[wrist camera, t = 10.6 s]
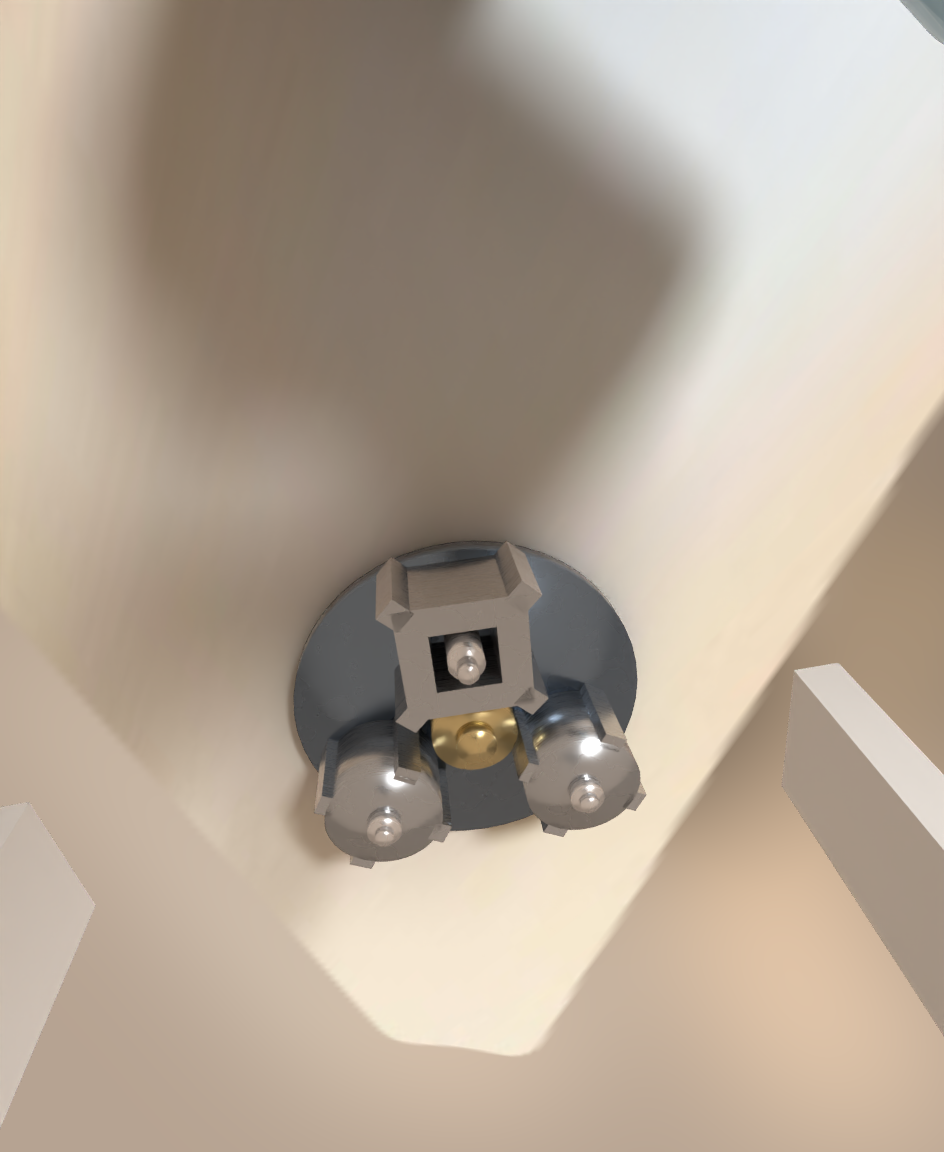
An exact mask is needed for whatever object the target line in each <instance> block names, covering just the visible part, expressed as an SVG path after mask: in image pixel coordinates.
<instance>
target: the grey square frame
mask: <svg viewBox="0 0 944 1152" xmlns="http://www.w3.org/2000/svg"><path fill="white" fill-rule="evenodd" d="M541 596H542V593H541V591H540V588H539V586H538V584H537V581H536V579H535V577H534V574H533V572H532V569H531V567H530V565H529V562H528V560H527V558H526V555H525V553H523V552H522V551H520V550H519V549H518V548H516V547H515V546H513V545H512V544H511V543H509V542H508V541H506V542H505V543H504V544H503V545H502V546H501V547H500V549H499V550H498V551H497V552H496V553H495V554H494V555H490V556H483V557H476V558H469V559H462V560H455V561H448V562H441V563H434V564H427V565H420V566H413V567H406V566H404V565H403V564H401V563H400V562H398V561H397V560H395V559H394V558H392V557H390V559H389V560H388V561H387V562H386V564H385V565H384V566H383V567H382V569H381V570H380V571H379V572H378V574H377V575H376V616H375V620H377V621H379V622H380V623H382V624H384V625H385V626H387V627H389V628H390V629H392V630H393V631H394V636H395V642H396V647H397V653H398V658H399V665H398V666H397V667H396V668H395V669H394V677H395V722H397V723H399V724H401V725H402V726H404V727H406V728H408V729H410V730H411V731H413V732H415V733H416V732H417V731H418V730H419V729H420V728H421V727H422V726H423V725H424V724H425V722H426V721H427V720H429V719H435V718H442V717H448V716H455V715H461V714H468V713H474V712H481V711H487V710H494V709H500V708H507V707H513V706H519V707H520V708H522V709H524V710H525V711H527V712H529V713H530V714H532V715H533V714H534V713H535V712H536V711H537V710H538V709H539V708H540V707H541V706H542V705H543V704H544V703H545V702H546V701H547V700H548V698H549V697H548V694H547V691H546V688H545V685H544V682H543V679H542V677H541V674H540V671H539V668H538V665H537V662H536V659H535V656H534V653H533V650H532V649H531V642H530V628H529V615H528V610H529V609H530V608H531V607H532V606H533V605H534V604H535V603H536V601H537V600H538V599H539V598H540V597H541ZM487 628H489V629H490V635H484V636H480V639H481V643H482V647H483V652H484V656H485V661H486V666H485V669H484V671H483V673H482V674H481V675H480V677H479V679H478V681H477V682H475V683H474V684H471V685H466V684H463V683H461V682H460V681H459V679H456V678H455V677H453V676H452V675H451V674H450V672H449V670H448V664H447V657H446V650H445V643H444V641H443V642H436V643H431V637H433V636H439V635H446V634H453V633H460V632H466V631H473V630H480V629H487Z"/></svg>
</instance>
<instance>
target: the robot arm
mask: <svg viewBox="0 0 944 1152" xmlns="http://www.w3.org/2000/svg"><path fill="white" fill-rule="evenodd" d="M900 1H901V2H902V3H903V4H904V6H905V7H906V8H907V9H908V10H909V11H910V12H911V13H912V14H913V16H914V17H915V18H916V19H917V20H918V21H919V22H920V23H921V25H922V26H923V27H924V28H925V29H926V30H927V31H928V32H929V33H930V34H931V35H932V36H933V37H934V38H935V39H936V40H938V41H939V42H941V43H942V44H944V0H900ZM782 787H783V789H784V790H785V792H786V793H787V795H788V796H789V798H790V799H791V801H792V803H793V804H794V806H795V807H796V809H797V810H798V812H799V813H800V815H801V817H802V818H803V820H804V821H805V823H806V824H807V826H808V827H809V829H810V830H811V832H812V833H813V835H814V837H815V838H816V840H817V841H818V843H819V844H820V846H821V847H822V849H823V850H824V852H825V853H826V855H827V857H828V858H829V860H830V861H831V863H832V864H833V866H834V867H835V869H836V871H837V872H838V873H839V875H840V877H841V878H842V880H843V881H844V883H845V884H846V886H847V887H848V889H849V891H850V892H851V894H852V895H853V897H854V898H855V900H856V901H857V903H858V904H859V906H860V908H861V909H862V911H863V912H864V914H865V915H866V917H867V918H868V920H869V921H870V923H871V924H872V926H873V928H874V929H875V931H876V932H877V934H878V935H879V937H880V938H881V940H882V941H883V943H884V945H885V946H886V948H887V949H888V951H889V952H890V954H891V955H892V957H893V958H894V960H895V962H896V963H897V965H898V966H899V967H900V969H901V971H902V972H903V974H904V975H905V977H906V978H907V980H908V982H909V983H910V985H911V986H912V988H913V989H914V991H915V992H916V994H917V995H918V997H919V999H920V1000H921V1002H922V1003H923V1005H924V1006H925V1008H926V1009H927V1011H928V1012H929V1014H930V1016H931V1017H932V1019H933V1020H934V1022H935V1023H936V1024H937V1026H938V1028H939V1029H940V1031H941V1032H942V1034H943V1036H944V775H943V774H942V773H941V772H940V771H939V770H938V768H937V767H936V766H935V765H934V764H933V763H932V762H931V761H930V760H929V759H928V758H927V757H926V756H925V755H924V754H923V752H922V751H921V750H920V749H919V748H918V747H917V746H916V745H915V744H914V743H913V742H912V741H911V740H910V739H909V738H908V737H907V735H906V734H905V733H904V732H903V731H902V730H901V729H900V728H899V727H898V726H897V725H896V724H895V723H894V722H893V721H892V720H891V718H890V717H889V716H888V715H887V714H886V713H885V712H884V711H883V710H882V709H881V708H880V707H879V706H878V705H877V704H876V703H875V701H874V700H873V699H872V698H871V697H870V696H869V695H868V694H867V693H866V692H865V691H864V690H863V689H862V688H861V687H860V685H859V684H858V683H857V682H856V681H855V680H854V679H853V678H852V677H851V676H850V675H849V674H848V673H847V672H846V671H845V670H844V668H843V667H842V666H841V665H840V664H839V663H834V664H829V665H824V666H817V667H812V668H805V669H800V670H794V678H793V687H792V695H791V706H790V714H789V724H788V732H787V741H786V751H785V760H784V770H783V778H782ZM95 906H96V905H95V903H94V902H93V900H92V899H91V897H90V896H89V894H88V892H87V891H86V889H85V888H84V886H83V885H82V883H81V882H80V880H79V878H78V877H77V875H76V874H75V872H74V871H73V869H72V867H71V866H70V864H69V863H68V861H67V860H66V858H65V857H64V855H63V853H62V852H61V850H60V849H59V847H58V846H57V844H56V843H55V841H54V839H53V838H52V836H51V835H50V833H49V832H48V830H47V829H46V827H45V825H44V824H43V822H42V821H41V819H40V818H39V816H38V815H37V813H36V811H35V810H34V808H33V807H32V805H31V804H30V802H26V803H20V804H15V805H9V806H3V807H0V1128H1V1125H2V1123H3V1121H4V1118H5V1116H6V1114H7V1111H8V1109H9V1107H10V1104H11V1102H12V1100H13V1097H14V1095H15V1093H16V1090H17V1088H18V1086H19V1083H20V1081H21V1079H22V1076H23V1074H24V1072H25V1069H26V1067H27V1065H28V1062H29V1060H30V1058H31V1055H32V1053H33V1050H34V1048H35V1046H36V1044H37V1041H38V1039H39V1037H40V1034H41V1032H42V1030H43V1027H44V1025H45V1023H46V1020H47V1018H48V1016H49V1013H50V1011H51V1008H52V1006H53V1004H54V1002H55V999H56V997H57V995H58V992H59V990H60V988H61V985H62V983H63V981H64V978H65V976H66V974H67V971H68V969H69V967H70V964H71V962H72V959H73V957H74V955H75V953H76V950H77V948H78V945H79V943H80V941H81V939H82V936H83V934H84V932H85V929H86V927H87V925H88V922H89V920H90V918H91V915H92V913H93V911H94V908H95Z"/></svg>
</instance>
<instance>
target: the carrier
mask: <svg viewBox="0 0 944 1152" xmlns="http://www.w3.org/2000/svg"><path fill="white" fill-rule="evenodd" d="M503 544H504V543H498V542H476V541H470V542H458V543H447V544H442V545H437V546H432V547H427V548H423V549H420V550H417V551H414V552H411V553H408V554H405V555H402V556H399V557H397V558H395V560H397V561H398V562H400V563H401V564H403V565H404V566H406V567H413V566H420V565H427V564H434V563H441V562H448V561H455V560H462V559H469V558H476V557H483V556H490V555H494V554H495V553H496V552H497V551H498V550H499V549H500V547H501V546H502V545H503ZM513 546H515V547H516V548H518V549H519V550H520V551H522V552H523V553H525V555H526V558H527V560H528V562H529V565H530V567H531V569H532V572H533V574H534V577H535V579H536V581H537V584H538V586H539V588H540V591H541V593H542V596H541V597H540V598H539V599H538V600H537V601H536V603H535V604H534V605H533V606H532V607H531V608H530V609H529V610H528V615H529V628H530V642H531V649H532V650H533V653H534V656H535V659H536V662H537V665H538V668H539V671H540V674H541V677H542V679H543V682H544V685H545V688H546V691H547V694H548V697H549V698H548V700H547V701H546V702H545V703H544V704H543V705H542V706H541V707H540V708H539V709H538V710H537V711H536V712H535V713H534V714H533V715H532V714H530V713H529V712H527V711H525V710H524V709H522V708H520V707H519V706H513V707H507V708H500V709H494V710H487V711H481V712H474V713H468V714H461V715H455V716H448V717H442V718H435V719H429V720H427V721H426V722H425V724H424V725H423V726H422V727H421V728H420V729H419V730H418V731H417V732H416V733H415V732H413V731H411V730H410V729H408V728H406V727H404V726H402V725H401V724H399V723H397V722H395V677H394V669H395V668H396V667H397V666H398V665H399V658H398V653H397V647H396V642H395V636H394V631H393V630H392V629H390V628H389V627H387V626H385V625H384V624H382V623H380V622H379V621H377V620H375V616H376V575H377V574H378V572H379V571H380V570H381V569H382V567H383V566H384V565H385V564H386V563H384V564H382V565H380V566H378V567H376V568H375V569H373V570H372V571H370V572H368V573H367V574H365V575H364V576H362V577H361V578H359V579H358V580H356V581H355V582H354V583H353V584H352V585H350V586H349V587H348V588H347V589H346V590H344V591H343V592H342V593H341V594H340V595H339V596H338V597H337V598H336V599H335V600H334V601H333V602H332V603H331V605H330V606H329V607H328V608H327V609H326V610H325V611H324V613H323V614H322V616H321V617H320V619H319V620H318V622H317V623H316V625H315V626H314V628H313V629H312V631H311V634H310V636H309V638H308V640H307V642H306V644H305V646H304V649H303V652H302V655H301V659H300V662H299V665H298V670H297V676H296V682H295V690H294V716H295V721H296V726H297V731H298V734H299V737H300V740H301V742H302V745H303V748H304V750H305V752H306V754H307V755H308V757H309V759H310V761H311V763H312V764H313V766H314V767H315V768H316V770H317V771H318V772H319V775H318V783H317V791H316V800H315V808H314V813H316V814H320V815H325V828H326V831H327V834H328V836H329V838H330V839H331V841H332V842H333V843H334V844H335V845H336V846H337V847H338V848H339V849H340V850H342V851H343V852H345V853H347V854H349V855H350V864H351V865H356V866H361V867H365V868H370V869H372V867H373V865H374V863H375V861H378V862H382V861H394V860H398V859H402V858H406V857H408V856H411V855H413V854H415V853H417V852H419V851H421V850H422V849H424V848H425V847H426V846H428V845H429V844H430V843H431V842H432V841H433V840H434V841H439V842H444V840H445V838H446V837H447V835H448V833H449V831H460V830H474V829H482V828H489V827H493V826H498V825H503V824H507V823H510V822H513V821H516V820H520V819H523V818H526V817H528V816H530V815H533V814H535V815H536V817H538V818H539V819H540V820H541V824H542V828H543V832H545V833H549V834H553V835H557V836H561V837H564V835H565V833H566V832H567V830H568V829H569V830H579V829H586V828H591V827H595V826H598V825H601V824H603V823H606V822H608V821H610V820H611V819H613V818H615V817H616V816H618V815H619V814H620V813H622V812H623V811H624V810H625V809H626V808H627V809H631V810H634V811H636V809H637V808H638V806H639V805H640V803H641V802H642V800H643V799H644V798H645V796H646V793H645V790H644V788H643V786H642V784H641V782H640V771H639V767H638V765H637V763H636V761H635V759H634V757H633V754H632V752H631V750H630V748H629V746H628V744H627V742H626V740H627V739H626V737H625V735H624V733H625V730H626V728H627V725H628V723H629V720H630V718H631V715H632V711H633V707H634V703H635V699H636V689H637V669H636V660H635V656H634V652H633V647H632V644H631V641H630V639H629V636H628V634H627V632H626V629H625V627H624V625H623V624H622V622H621V620H620V618H619V617H618V615H617V614H616V612H615V610H614V609H613V607H612V606H611V604H610V602H609V601H608V600H607V599H606V597H605V596H604V595H603V594H602V593H601V592H600V591H599V589H598V588H597V587H596V586H595V585H594V584H593V583H591V582H590V581H589V580H588V579H587V578H585V577H584V576H583V575H582V574H581V573H579V572H578V571H576V570H575V569H573V568H571V567H570V566H568V565H567V564H565V563H563V562H562V561H559V560H557V559H555V558H553V557H550V556H548V555H546V554H544V553H541V552H538V551H535V550H531V549H528V548H525V547H521V546H516V545H513ZM484 635H490V629H489V628H487V629H480V630H473V631H466V632H460V633H453V634H446V635H439V636H433V637H431V643H436V642H443V641H444V643H445V650H446V657H447V664H448V670H449V672H450V674H451V675H452V676H453V677H455V678H456V679H459V681H460V682H461V683H463V684H466V685H471V684H474V683H475V682H477V681H478V679H479V677H480V675H481V674H482V673H483V671H484V669H485V666H486V661H485V656H484V652H483V647H482V643H481V639H480V636H484Z"/></svg>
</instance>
